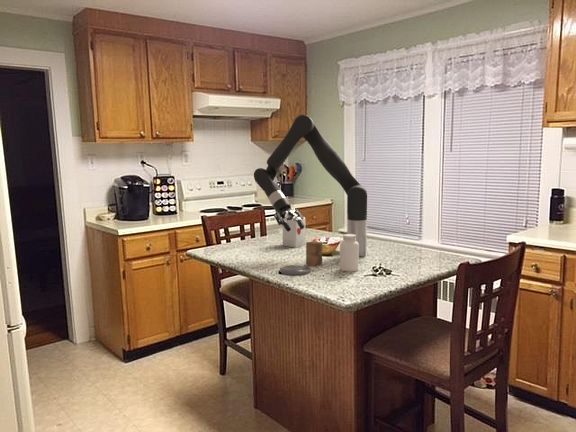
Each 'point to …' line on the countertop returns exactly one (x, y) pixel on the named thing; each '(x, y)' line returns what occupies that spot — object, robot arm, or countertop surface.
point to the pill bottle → (349, 253)
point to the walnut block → (314, 253)
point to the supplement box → (294, 234)
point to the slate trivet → (295, 270)
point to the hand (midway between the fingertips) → (296, 229)
